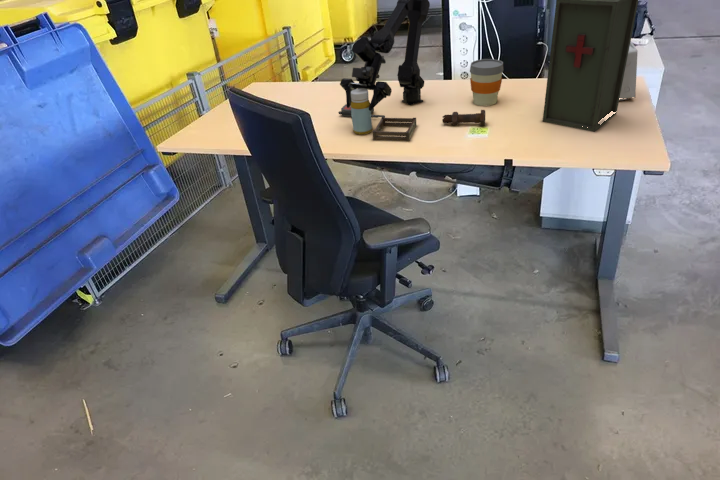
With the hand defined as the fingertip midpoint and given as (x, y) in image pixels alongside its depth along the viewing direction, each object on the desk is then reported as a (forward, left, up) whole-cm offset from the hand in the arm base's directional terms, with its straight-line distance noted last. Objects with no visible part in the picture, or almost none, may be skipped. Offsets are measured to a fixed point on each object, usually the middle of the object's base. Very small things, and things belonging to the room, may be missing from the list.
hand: (358, 109), depth 184 cm
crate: (-10, +8, -9) cm, 16 cm away
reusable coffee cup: (-54, +5, -9) cm, 55 cm away
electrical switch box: (-91, +32, -9) cm, 97 cm away
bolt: (-33, +18, -9) cm, 39 cm away
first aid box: (-67, +40, -9) cm, 78 cm away
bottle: (-1, -1, -9) cm, 9 cm away
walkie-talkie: (-10, -15, -9) cm, 20 cm away
